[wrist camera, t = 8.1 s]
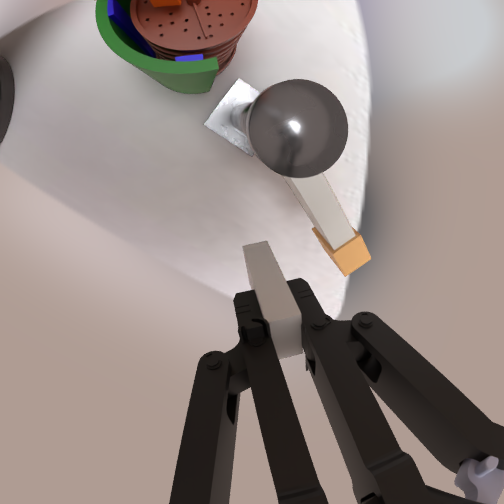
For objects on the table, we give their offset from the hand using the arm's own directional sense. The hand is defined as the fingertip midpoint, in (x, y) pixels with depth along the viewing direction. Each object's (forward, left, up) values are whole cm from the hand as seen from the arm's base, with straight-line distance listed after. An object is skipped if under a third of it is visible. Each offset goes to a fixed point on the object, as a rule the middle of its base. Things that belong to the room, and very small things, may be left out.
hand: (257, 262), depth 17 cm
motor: (-13, +10, -15) cm, 22 cm away
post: (-4, +7, -15) cm, 17 cm away
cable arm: (+3, +5, -6) cm, 9 cm away
